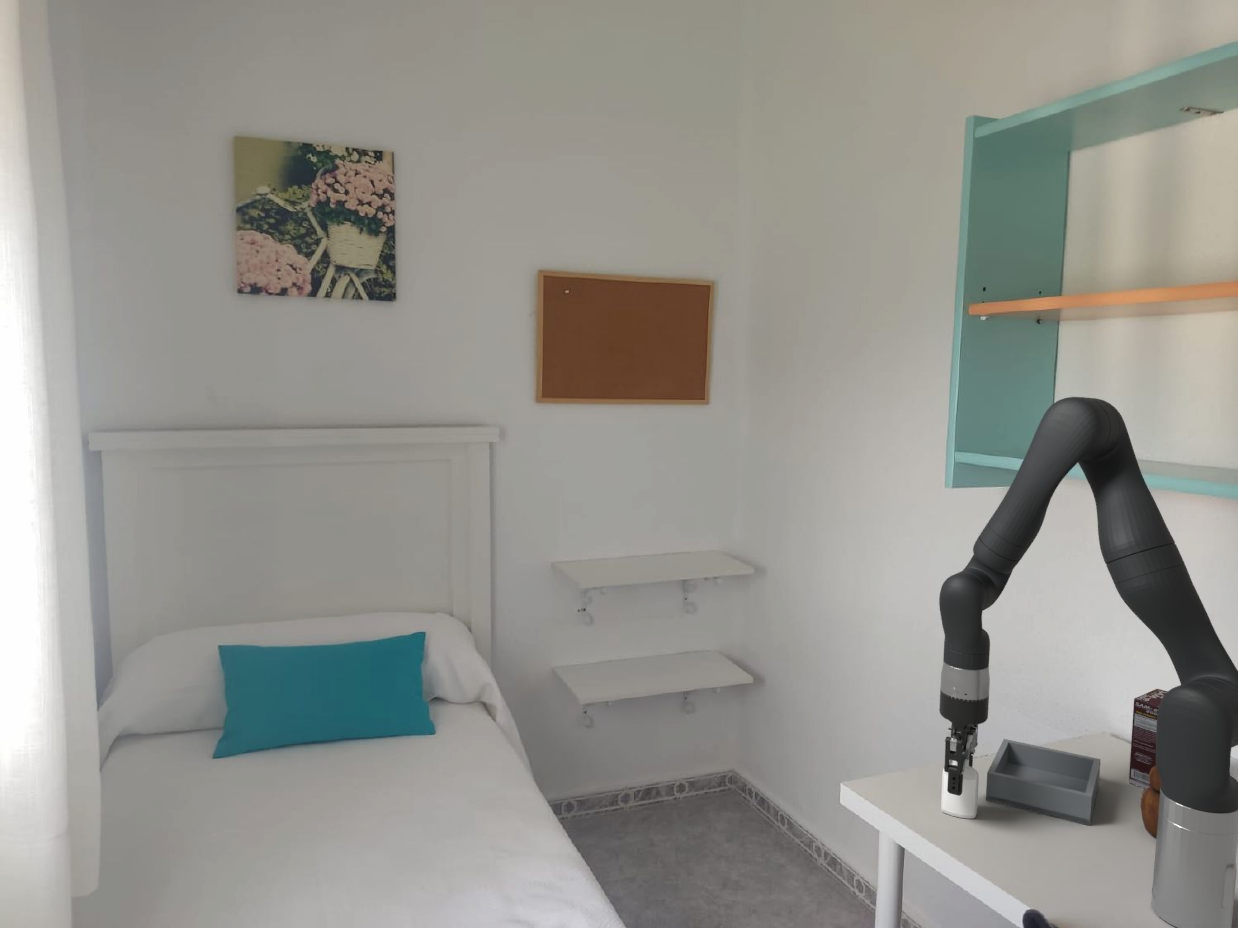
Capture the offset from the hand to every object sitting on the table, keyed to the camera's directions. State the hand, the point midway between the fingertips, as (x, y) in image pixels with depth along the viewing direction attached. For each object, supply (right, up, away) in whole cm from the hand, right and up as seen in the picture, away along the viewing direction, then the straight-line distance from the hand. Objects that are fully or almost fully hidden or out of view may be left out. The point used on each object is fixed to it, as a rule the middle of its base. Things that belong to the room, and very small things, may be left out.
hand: (959, 783), depth 152 cm
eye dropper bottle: (0, -5, +1) cm, 5 cm away
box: (+17, -4, +7) cm, 19 cm away
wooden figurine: (+30, -6, -6) cm, 31 cm away
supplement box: (+39, -4, +12) cm, 41 cm away
